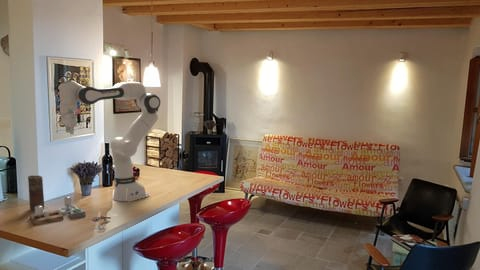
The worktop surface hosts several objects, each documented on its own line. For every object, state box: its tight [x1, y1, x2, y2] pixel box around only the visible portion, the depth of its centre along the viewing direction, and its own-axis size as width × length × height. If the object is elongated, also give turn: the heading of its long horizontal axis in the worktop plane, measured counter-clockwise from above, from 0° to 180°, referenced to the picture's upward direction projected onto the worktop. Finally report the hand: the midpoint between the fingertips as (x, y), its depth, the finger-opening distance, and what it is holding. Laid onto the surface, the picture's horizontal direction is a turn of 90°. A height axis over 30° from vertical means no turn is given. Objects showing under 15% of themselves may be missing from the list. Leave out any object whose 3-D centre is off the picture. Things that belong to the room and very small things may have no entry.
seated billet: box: [34, 205, 44, 219], centre depth 194 cm, size 4×4×8 cm
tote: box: [57, 205, 78, 215], centre depth 210 cm, size 9×8×2 cm
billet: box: [64, 195, 73, 211], centre depth 210 cm, size 4×4×8 cm
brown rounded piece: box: [27, 175, 45, 212], centre depth 211 cm, size 8×7×20 cm
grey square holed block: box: [68, 207, 86, 219], centre depth 203 cm, size 7×7×3 cm
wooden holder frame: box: [29, 209, 64, 226], centre depth 197 cm, size 14×12×2 cm
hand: (69, 133), depth 212 cm, fingers open, 8 cm apart
